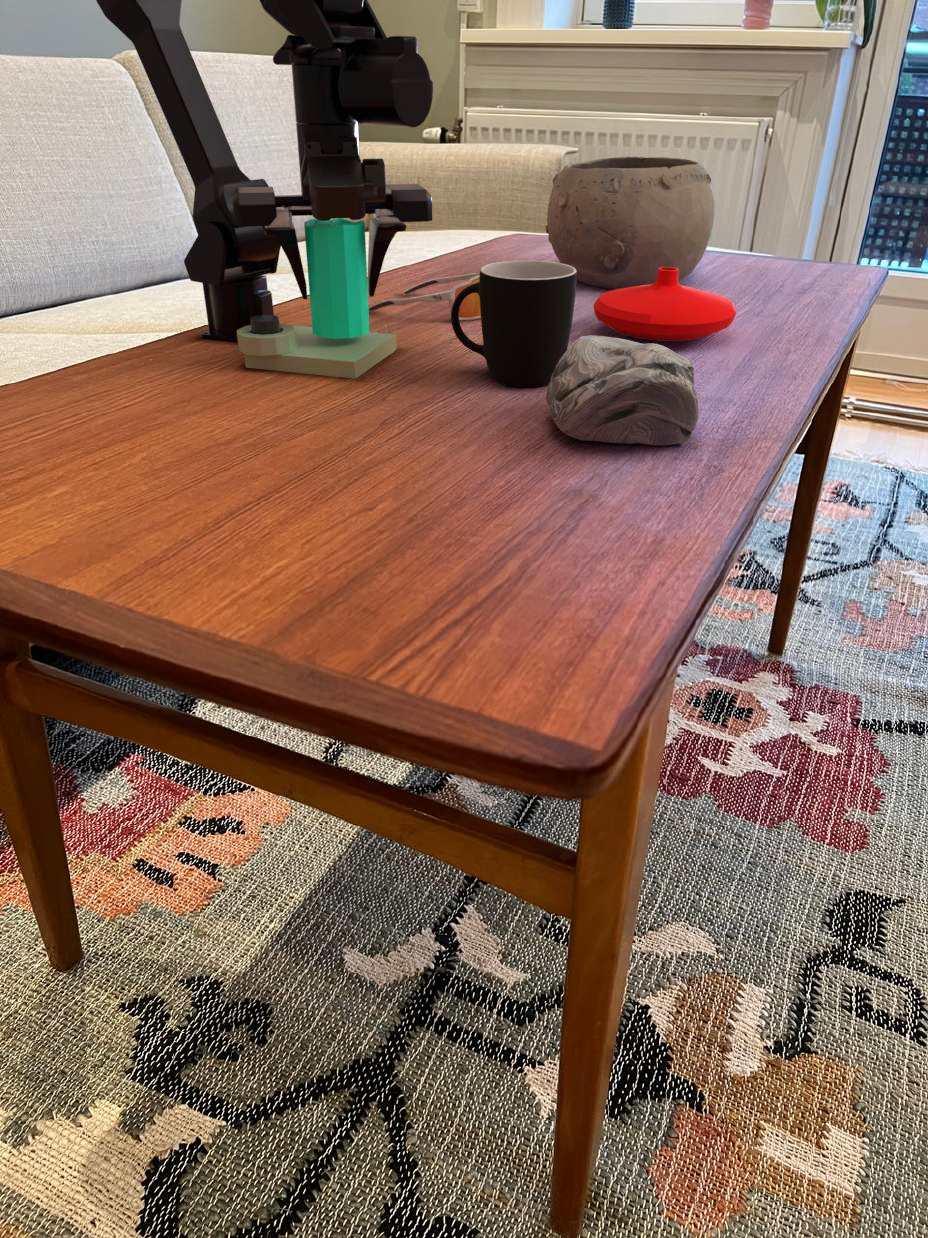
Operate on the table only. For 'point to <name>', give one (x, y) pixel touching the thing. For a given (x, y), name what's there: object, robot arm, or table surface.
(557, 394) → the decorative stone
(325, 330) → the candle
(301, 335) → the khaki base plate
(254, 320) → the button
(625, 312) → the red vase
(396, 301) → the sunglasses
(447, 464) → the table surface
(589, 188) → the bowl
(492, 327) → the mug
